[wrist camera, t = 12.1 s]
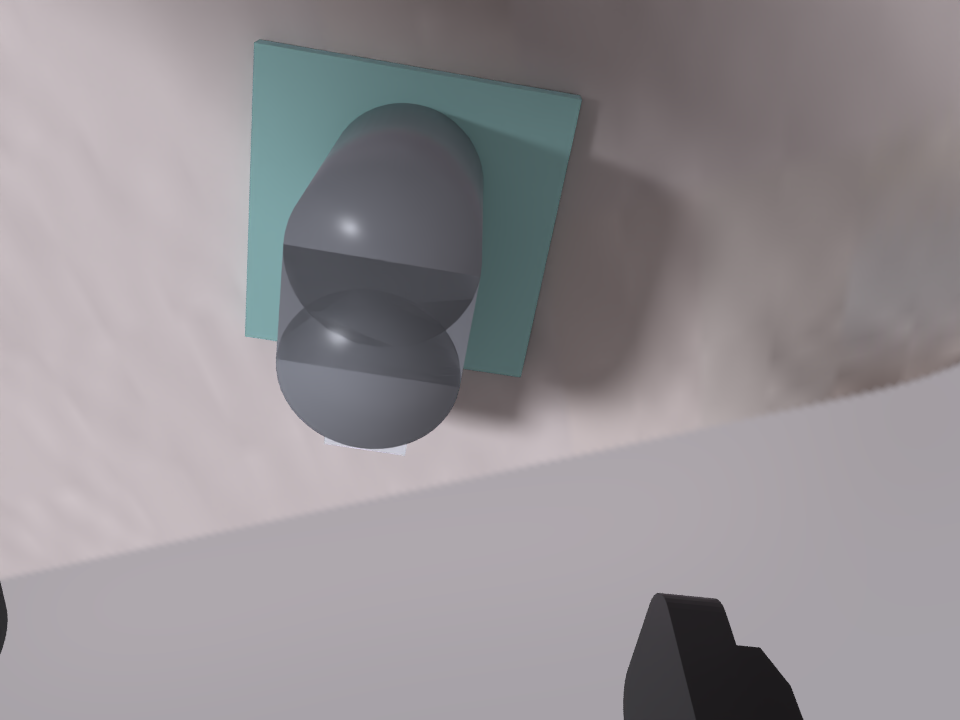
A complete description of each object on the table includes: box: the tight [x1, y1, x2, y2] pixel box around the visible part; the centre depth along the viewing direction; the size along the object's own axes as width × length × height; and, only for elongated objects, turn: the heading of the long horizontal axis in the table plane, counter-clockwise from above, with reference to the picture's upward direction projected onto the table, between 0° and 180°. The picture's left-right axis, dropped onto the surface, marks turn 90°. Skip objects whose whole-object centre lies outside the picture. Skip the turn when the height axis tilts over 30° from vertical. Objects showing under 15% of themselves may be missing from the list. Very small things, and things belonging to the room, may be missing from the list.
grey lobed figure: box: [276, 103, 483, 456], centre depth 22 cm, size 9×4×6 cm, turn 170°
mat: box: [245, 40, 582, 377], centre depth 25 cm, size 9×9×1 cm
